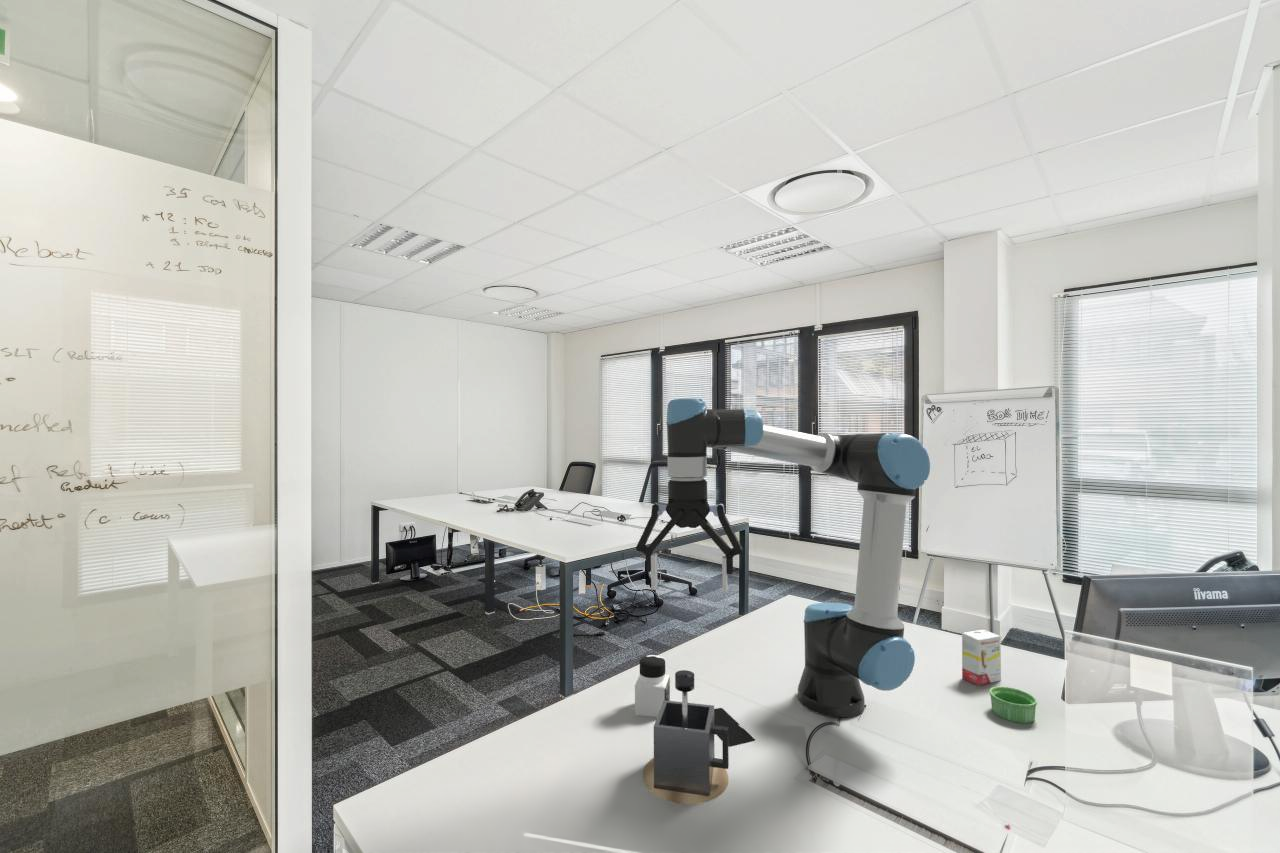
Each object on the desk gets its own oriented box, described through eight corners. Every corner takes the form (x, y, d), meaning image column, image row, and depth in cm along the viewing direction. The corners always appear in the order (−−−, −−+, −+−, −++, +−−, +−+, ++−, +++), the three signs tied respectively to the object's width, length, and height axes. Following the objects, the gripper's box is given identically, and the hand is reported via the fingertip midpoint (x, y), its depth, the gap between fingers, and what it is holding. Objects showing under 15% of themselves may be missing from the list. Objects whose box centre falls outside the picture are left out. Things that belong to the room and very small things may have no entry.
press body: (730, 764, 103) (729, 707, 104) (726, 798, 94) (726, 735, 94) (663, 756, 106) (663, 700, 107) (653, 788, 97) (653, 726, 97)
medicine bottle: (665, 719, 121) (665, 665, 121) (634, 716, 122) (634, 663, 123) (670, 704, 128) (669, 653, 128) (640, 701, 129) (640, 651, 130)
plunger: (705, 757, 103) (704, 668, 103) (701, 779, 96) (700, 684, 97) (670, 753, 104) (669, 665, 105) (664, 774, 98) (663, 680, 98)
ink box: (978, 686, 136) (978, 639, 136) (961, 678, 141) (960, 633, 141) (1002, 681, 139) (1001, 635, 139) (984, 673, 144) (983, 628, 144)
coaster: (731, 757, 106) (731, 755, 106) (725, 812, 91) (725, 810, 91) (652, 747, 110) (652, 745, 110) (633, 798, 94) (633, 796, 94)
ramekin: (980, 707, 126) (979, 688, 126) (1012, 703, 128) (1011, 684, 128) (1014, 727, 117) (1013, 707, 117) (1047, 722, 119) (1047, 702, 119)
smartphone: (722, 707, 126) (757, 740, 112) (722, 710, 126) (757, 744, 112) (695, 711, 123) (728, 746, 109) (695, 715, 123) (728, 750, 109)
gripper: (753, 477, 104) (755, 586, 104) (629, 477, 109) (630, 581, 109) (753, 480, 97) (755, 598, 96) (619, 480, 102) (621, 592, 102)
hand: (689, 589), depth 103 cm, fingers open, 13 cm apart
